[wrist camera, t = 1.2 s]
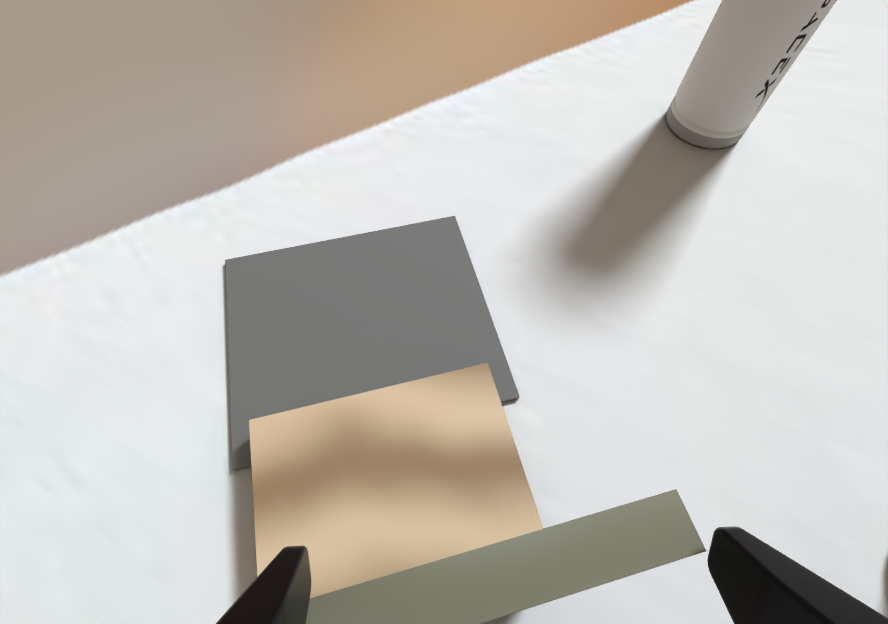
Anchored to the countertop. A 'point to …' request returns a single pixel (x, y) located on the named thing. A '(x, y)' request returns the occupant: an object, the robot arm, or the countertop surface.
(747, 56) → the travel mug
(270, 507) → the wooden bookend
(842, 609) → the robot arm
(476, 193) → the countertop surface
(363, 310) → the mat
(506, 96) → the countertop surface
